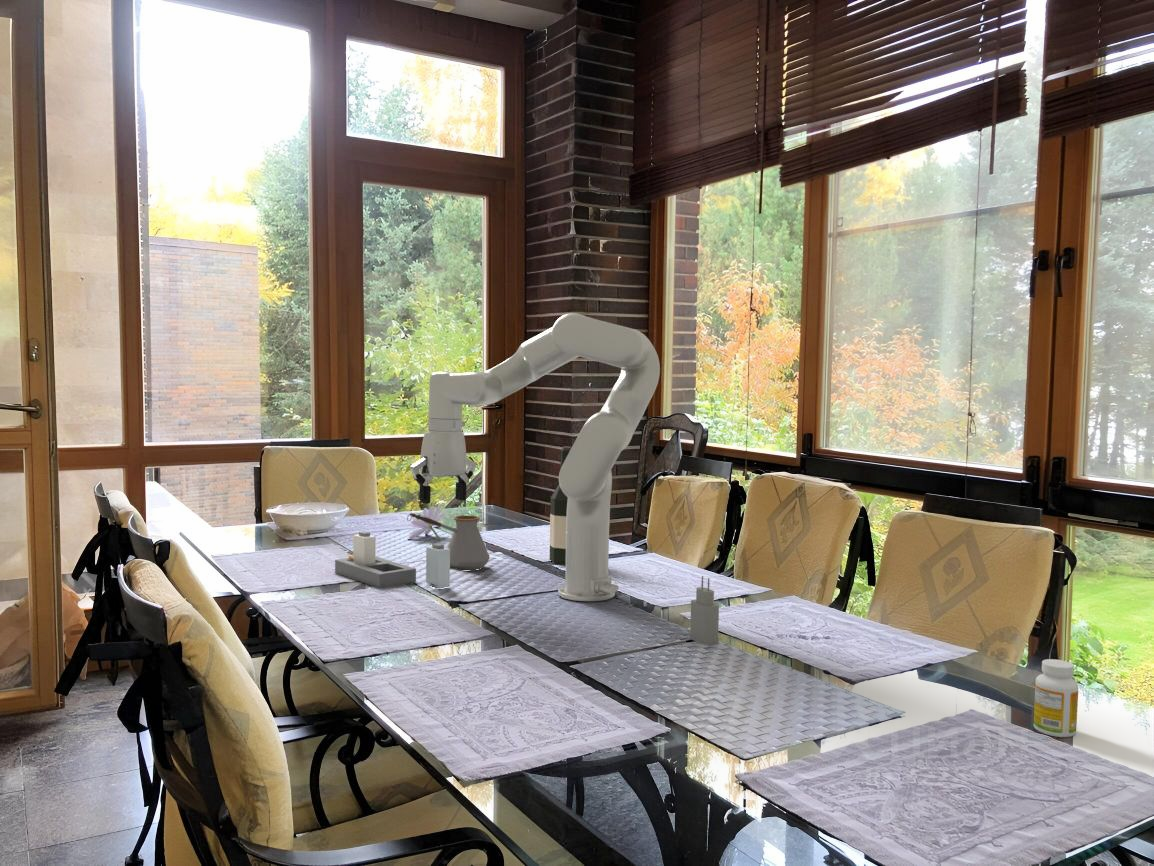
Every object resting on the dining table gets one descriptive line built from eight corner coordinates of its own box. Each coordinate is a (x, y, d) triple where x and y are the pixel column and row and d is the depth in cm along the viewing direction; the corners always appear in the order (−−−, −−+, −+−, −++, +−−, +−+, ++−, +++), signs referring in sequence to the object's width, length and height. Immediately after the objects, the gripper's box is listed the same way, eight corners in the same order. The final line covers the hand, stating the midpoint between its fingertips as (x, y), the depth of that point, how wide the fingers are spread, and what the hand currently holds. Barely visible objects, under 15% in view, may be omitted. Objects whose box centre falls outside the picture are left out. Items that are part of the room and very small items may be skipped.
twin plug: (375, 574, 217) (375, 533, 216) (364, 576, 215) (364, 534, 214) (364, 570, 221) (364, 530, 220) (353, 572, 219) (353, 531, 218)
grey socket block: (415, 585, 210) (416, 566, 210) (379, 592, 204) (379, 571, 204) (370, 571, 225) (370, 552, 225) (335, 576, 218) (335, 557, 218)
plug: (449, 588, 209) (450, 545, 208) (438, 590, 207) (438, 547, 206) (437, 584, 212) (437, 542, 212) (426, 586, 210) (426, 543, 210)
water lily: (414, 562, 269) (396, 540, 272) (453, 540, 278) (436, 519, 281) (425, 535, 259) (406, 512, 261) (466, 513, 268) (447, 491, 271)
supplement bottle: (1062, 723, 133) (1066, 657, 132) (1084, 738, 127) (1088, 669, 127) (1025, 723, 133) (1029, 657, 132) (1046, 738, 127) (1049, 669, 127)
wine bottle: (581, 565, 236) (583, 448, 234) (548, 564, 236) (550, 448, 234) (581, 558, 244) (583, 445, 242) (550, 557, 245) (552, 445, 243)
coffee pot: (476, 562, 238) (477, 504, 237) (497, 570, 228) (498, 510, 227) (398, 570, 226) (398, 510, 225) (416, 579, 217) (417, 516, 216)
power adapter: (706, 645, 168) (708, 580, 167) (688, 638, 173) (689, 574, 172) (719, 643, 169) (721, 579, 169) (701, 635, 174) (703, 573, 173)
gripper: (466, 424, 217) (464, 496, 218) (403, 425, 205) (401, 502, 207) (485, 427, 212) (483, 500, 213) (421, 428, 200) (419, 506, 201)
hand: (443, 501), depth 210 cm, fingers open, 9 cm apart
